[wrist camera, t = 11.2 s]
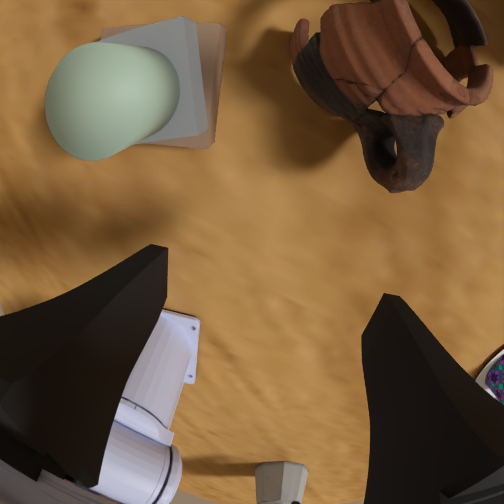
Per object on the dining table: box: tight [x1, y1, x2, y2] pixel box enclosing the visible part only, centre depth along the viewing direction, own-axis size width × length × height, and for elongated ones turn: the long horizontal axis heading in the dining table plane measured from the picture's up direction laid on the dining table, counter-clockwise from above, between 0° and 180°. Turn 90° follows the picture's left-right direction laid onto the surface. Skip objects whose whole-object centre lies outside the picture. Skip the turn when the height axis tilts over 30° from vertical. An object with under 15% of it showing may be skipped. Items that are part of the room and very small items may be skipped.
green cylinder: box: [45, 42, 180, 161], centre depth 12 cm, size 5×5×4 cm
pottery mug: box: [290, 0, 493, 193], centre depth 13 cm, size 12×10×8 cm
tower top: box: [97, 16, 208, 145], centre depth 14 cm, size 6×6×2 cm
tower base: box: [101, 23, 228, 149], centre depth 16 cm, size 7×7×2 cm
